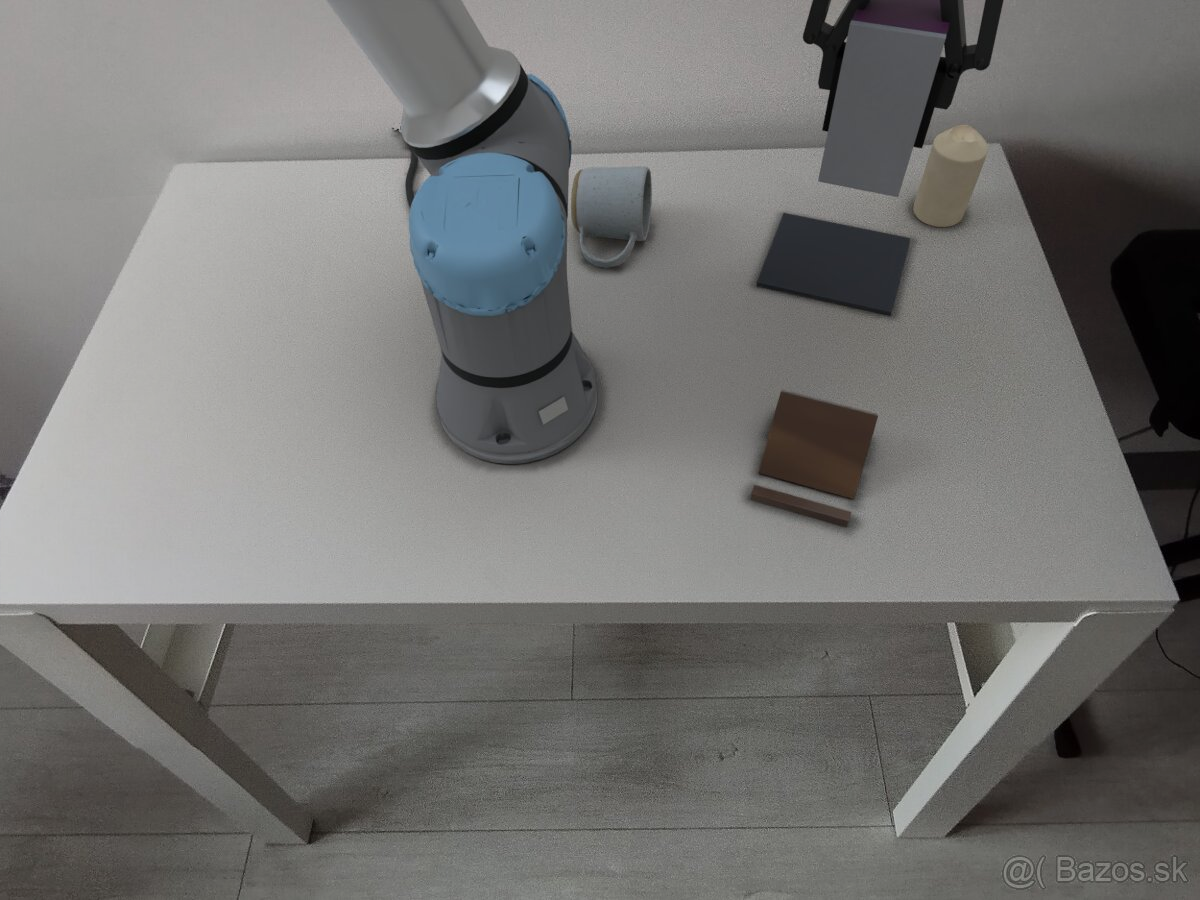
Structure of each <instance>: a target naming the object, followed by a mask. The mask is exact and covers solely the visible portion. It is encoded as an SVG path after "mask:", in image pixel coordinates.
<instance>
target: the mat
mask: <svg viewBox="0 0 1200 900" xmlns="http://www.w3.org/2000/svg"><path fill="white" fill-rule="evenodd" d="M910 241H911V237H908V236H902V235H897V234H892V233H887V232H882V231H877V230H871V229H867V228H862V227H858V226H854V225H853V226H852V225H847V224H842V223H837V222H832V221H828V220H822V219H816V218H811V217H807V216H802V215H797V214H792V213H788V212H783V213H782V216H781V219H780V221H779V224H778V226H777V229H776V232H775V235H774V237H773V239H772V242H771V245H770V246H769V249H768V252H767V255H766V258H765V260H764V262H763V265H762V267H761V270H760V273H759V276H758V278H757V281H756V287H759V288H761V287H762V288H765V289H769V290H774V291H779V292H783V293H787V294H792V295H797V296H799V297H800V296H801V297H806V298H810V299H814V300H818V301H823V302H826V303H827V302H829V303H832V304H837V305H841V306H846V307H849V308H855V309H859V310H863V311H867V312H872V313H877V314H881V315H886V316H892V314H893V310H894V306H895V302H896V298H897V294H898V290H899V286H900V283H901V282H900V281H901V277H902V273H903V269H904V265H905V261H906V257H907V254H908V249H909V245H910Z"/></svg>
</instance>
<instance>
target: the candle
mask: <svg viewBox="0 0 1200 900" xmlns="http://www.w3.org/2000/svg"><path fill="white" fill-rule="evenodd" d="M989 149H990V148H989V145H988V143H987V141H986V140H985V138H984V136H982V135H981V134H980V133H979V132H978V131H977V130H976V129H974V128H973V126H970V125H969V124H961V125H955V126H953V127H950V128H949V129H947V130H945V131H943V132H941V133H939V134H937V135H936V136H935V137H934V140H933V143H932V145H931V149H930V152H929V155H928V157H927V160H926V161H927V162H926V165H925V167H924V170H923V173H922V177H921V180H920V184H919V187H918V191H917V192H916V195H915V199H914V203H913V208H912V210H913V214H914V215H915V217H916V218H917V219H918V220H919V221H920V222H922V223H923V224H926V225H929V226H932V227H937V228H948V227H953V226H955V225H957V224H958V223H960V222H961V221H962V219H963V218H964V215H965V213H966V211H967V209H968V206H969V203H970V200H971V198H972V195H973V192H974V190H975V187H976V186H977V185H976V184H977V182H978V180H979V177H980V175H981V172H982V169H983V166H984V163H985V162H986V158H987V156H988V153H989Z"/></svg>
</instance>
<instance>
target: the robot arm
mask: <svg viewBox="0 0 1200 900" xmlns="http://www.w3.org/2000/svg"><path fill="white" fill-rule="evenodd" d="M325 1H326V2H327V3H328V5H329V6H330V7H331V9H332V11H333V12H334V13H335V15H336V16H337V17H338V19H339V20H340V21H341V23H342V25H344V27H345V28H346V30H347V31H348V33H349V34H350V35H351V36H352V37H351V38H353V39H354V41H355V42H356V44H357V45H358V47H360V49H361V50H362V52H363V53H364V54H365V56H366V57H367V59H368V60H369V61H370V63H371V65H372V66H373V68H374V69H375V70H376V72H378V74H379V76H380V77H381V78H382V80H383V81H384V82H385V84H386V85H387V87H388V88H389V89H390V91H391V92H392V94H393V95H394V96H395V98H396V99H397V101H398V102H399V103H400V105H401V106H402V115H401V119H400V124H401V126H400V130H401V133H400V135H401V134H402V135H401V136H402V138H403V141H405V142H406V145H407V146H408V148H409V151H410V155H411V156H410V163H409V167H408V170H407V173H406V177H405V195H406V201H407V204H408V207H409V212H408V213H409V215H408V233H409V248H410V253H411V255H412V259H413V266H414V268H415V269H416V272H417V275H418V277H419V278H420V283H421V286H422V289H423V292H424V296H425V299H426V303H427V306H428V310H429V313H430V317H431V320H432V324H433V327H434V331H435V334H436V337H437V341H438V344H439V348H440V352H441V359H440V364H439V371H438V378H437V380H436V381H437V382H436V386H435V405H436V410H437V413H438V414H437V415H438V417H439V420H440V423H441V426H442V428H443V430H444V432H445V433H446V436H447V437H448V438H449V439H450V441H452V443H454V445H456V447H458V448H459V449H460V450H463V452H465V453H466V454H469V455H470V456H472V457H475V458H477V459H480V460H483V461H486V462H490V463H496V464H503V465H505V464H506V465H515V464H526V463H527V464H528V463H531V462H537V461H540V460H543V459H546V458H548V457H551V456H554V455H556V454H557V453H560V452H562V451H563V450H566V448H568V447H569V446H570V445H572V444H573V443H574V442H576V441H577V440H578V438H580V437H581V436H582V435H583V433H584V432H585V431H586V430H587V428H588V427H589V425H590V424H591V422H592V420H593V418H594V416H595V412H596V410H597V404H598V387H597V379H596V374H595V370H594V368H593V366H592V363H591V360H590V359H589V357H588V356H587V354H586V352H585V351H584V349H583V347H582V345H581V343H580V342H579V340H578V339H577V337H576V336H575V333H574V332H573V326H572V325H573V324H572V316H571V315H572V313H571V305H570V304H571V303H570V294H569V282H568V217H569V183H570V182H569V181H570V168H571V163H572V151H573V149H572V140H571V132H570V128H569V124H568V120H567V117H566V113H565V110H564V109H563V106H562V104H561V102H560V100H559V99H558V97H557V96H556V95H555V93H554V91H552V89H551V88H550V87H549V86H548V85H547V84H545V82H544V81H543V80H542V79H540V78H538V76H536V75H534V74H533V73H529V74H528V73H526V71H525V69H524V68H523V66H522V64H521V62H520V61H519V59H518V57H517V56H516V55H515V54H514V53H513V52H512V51H511V50H507V49H505V48H504V49H503V48H500V47H499V48H498V47H494V46H489V44H488V43H487V41H486V40H485V37H484V36H483V34H482V33H481V31H480V29H479V27H478V26H477V24H476V22H475V21H474V19H473V17H472V15H471V14H470V12H469V10H468V8H467V7H466V5H465V3H464V2H463V0H325ZM869 1H870V0H847V2H846V4H845V6H844V7H843V9H842V11H841V12H840V14H839V16H838V17H837V19H836V21H835V22H834V24H833V25H831V24H829V23H827V22H826V19H827V17H828V13H829V9H830V6H831V2H832V0H812V1H811V6H810V9H809V11H808V16H807V19H806V23H805V26H804V30H803V33H802V40H803V42H804V43H805V44H807V45H815V46H817V47H818V48H819V49H821V52H822V58H821V63H820V69H819V74H818V80H817V84H818V89H820V90H825V91H829V92H828V97H827V103H826V108H825V114H824V118H823V123H822V127H821V128H822V129H821V131H822V132H827V133H828V129H829V124H830V120H831V115H832V110H833V105H834V100H835V95H836V90H837V85H838V80H839V75H840V70H841V66H842V61H843V56H844V51H845V46H846V40H847V36H848V31H849V26H850V23H851V21H852V18H853V16H854V13H855V11H856V10H857V9H858V10H864V9H865V7H866V5H867V4H868V2H869ZM964 5H965V4H964V0H940V6H941V17H942V22H948V23H950V25H949V29H948V32H947V36H946V39H945V43H944V46H943V49H944V56H940V59H939V63H938V66H937V69H936V73H935V76H934V80H933V83H932V86H931V90H930V93H929V96H928V100H927V103H926V106H925V110H924V113H923V116H922V120H921V123H920V126H919V130H918V133H917V136H916V140H915V143H914V146H913V148H917V149H923V147H924V144H925V141H926V138H927V134H928V132H929V131H928V130H929V128H930V125H931V121H932V118H933V114H934V111H935V109H940V110H948V109H949V108H950V106H951V105H952V103H953V99H954V96H955V93H956V91H957V88H958V84H959V82H960V81H959V80H960V78H961V75H962V74H963V73H964V72H966V71H968V70H976V71H981V72H982V71H985V70H986V69H988V68H989V67H990V65H991V60H992V57H993V56H992V55H993V52H994V47H995V43H996V37H997V33H998V28H999V24H1000V19H1001V14H1002V10H1003V6H1004V0H985V1H984V6H983V9H982V10H983V11H982V16H981V21H980V24H979V25H980V26H979V30H978V36H977V40H976V41H977V42H976V43H975V44H969V45H968V43H967V31H966V20H965V19H966V16H965V6H964ZM419 162H420V163H421V164H422V165H423V167H424V168H425V170H426V171H427V172H428V174H429V176H428V177H427V178H426V179H425V180H424V181H423V182H422V184H421V185H420V186H419V188H418V189H417V191H416V193H415V194H414V178H415V175H416V171H417V168H418V164H419Z"/></svg>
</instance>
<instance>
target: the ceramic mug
mask: <svg viewBox="0 0 1200 900" xmlns="http://www.w3.org/2000/svg"><path fill="white" fill-rule="evenodd" d="M650 169H651V168H649V167H648V166H595V167H593V166H592V167H587V168H582V169H579V170H578V171H577V172H576V173H575V176H574V177H573V181H572V186H571V197H570V214H571V216H570V217H571V222H572V226H573V229H575V231H576V232H577V233H578V234H579V247H580V250H581V253H582V255H583V257H584V259H585V260H586V261H588V263H590V264H591V265H593V266H594V267H595V266H596V267H598V268H615V267H617V266H619V265H621V264H623V263H624V262H625V261H626V260H627V259H628V258H629V256H630V254H631V253H632V251H633V249H634V246H635V244H636V242H644V241H646V239H648V235H649V230H650V225H651V217H652V205H653V200H652V199H653V198H652V197H653V187H652V186H653V185H652V172H651V170H650ZM588 236H589V237H598V238H608V239H615V240H616V239H617V240H626V241H628V242H627V244H626V245H625V247H624V248H623V250H622V251H621V252H620V253H618V254H617V255H615V256H613V257H612V258H609V259H602V258H599V257H598V256H597V255H592V254H591V252H590V251H588V250H587V249H586V237H588Z"/></svg>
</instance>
